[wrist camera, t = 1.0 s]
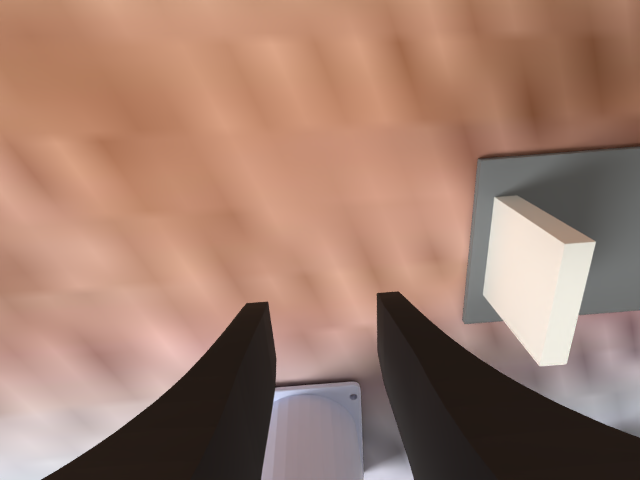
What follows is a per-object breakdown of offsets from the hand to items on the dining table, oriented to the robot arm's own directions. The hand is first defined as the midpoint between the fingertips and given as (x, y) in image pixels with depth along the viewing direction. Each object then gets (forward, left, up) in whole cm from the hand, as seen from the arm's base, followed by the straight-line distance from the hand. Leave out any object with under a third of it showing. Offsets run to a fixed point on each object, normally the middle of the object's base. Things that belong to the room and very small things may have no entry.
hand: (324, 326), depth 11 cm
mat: (-3, -15, -10) cm, 18 cm away
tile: (-3, -10, -10) cm, 14 cm away
